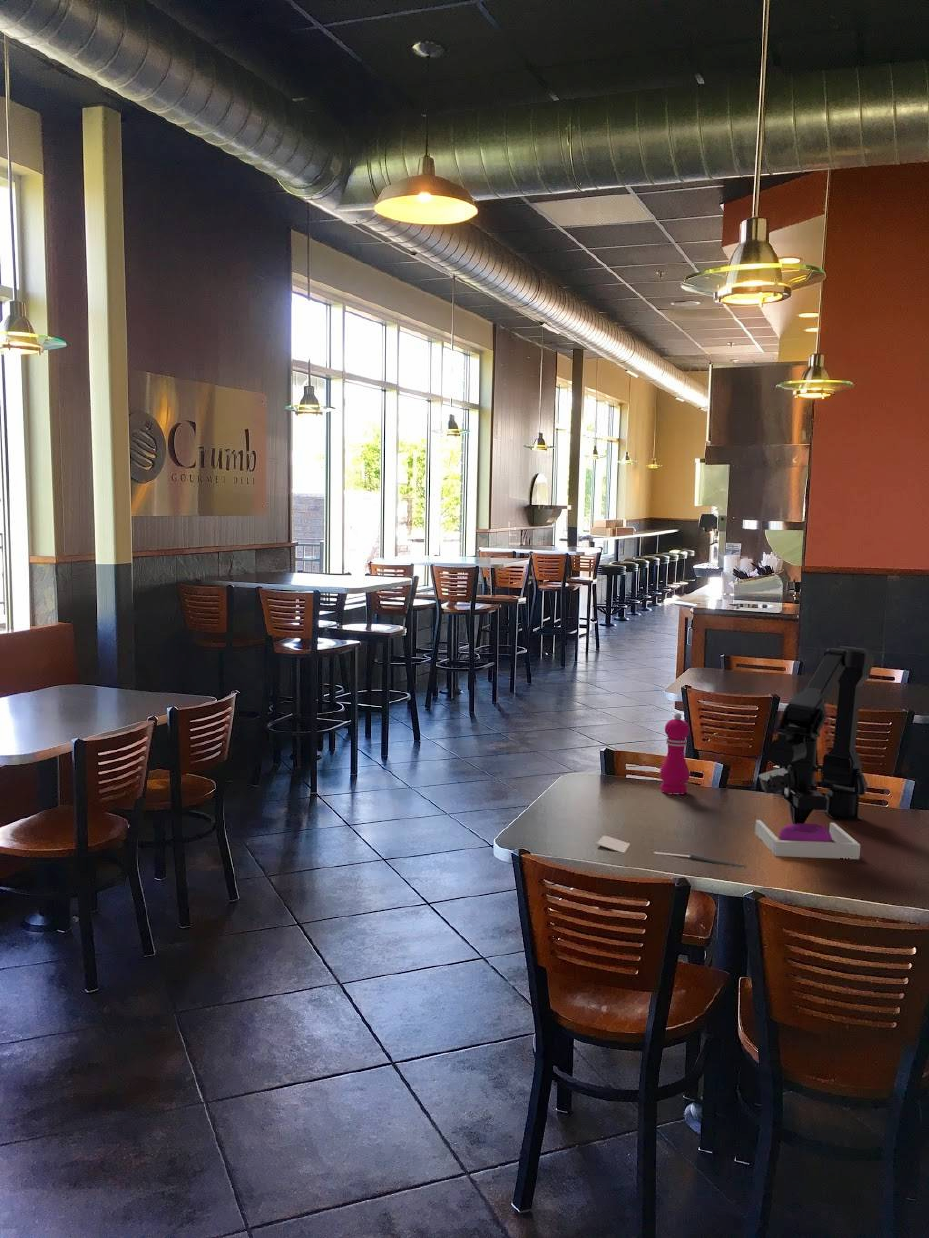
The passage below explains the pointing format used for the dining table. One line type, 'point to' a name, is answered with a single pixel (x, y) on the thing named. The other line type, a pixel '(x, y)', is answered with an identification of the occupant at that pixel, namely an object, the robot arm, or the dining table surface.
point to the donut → (805, 833)
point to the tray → (811, 844)
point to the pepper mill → (675, 757)
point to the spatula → (622, 847)
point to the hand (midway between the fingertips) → (796, 830)
